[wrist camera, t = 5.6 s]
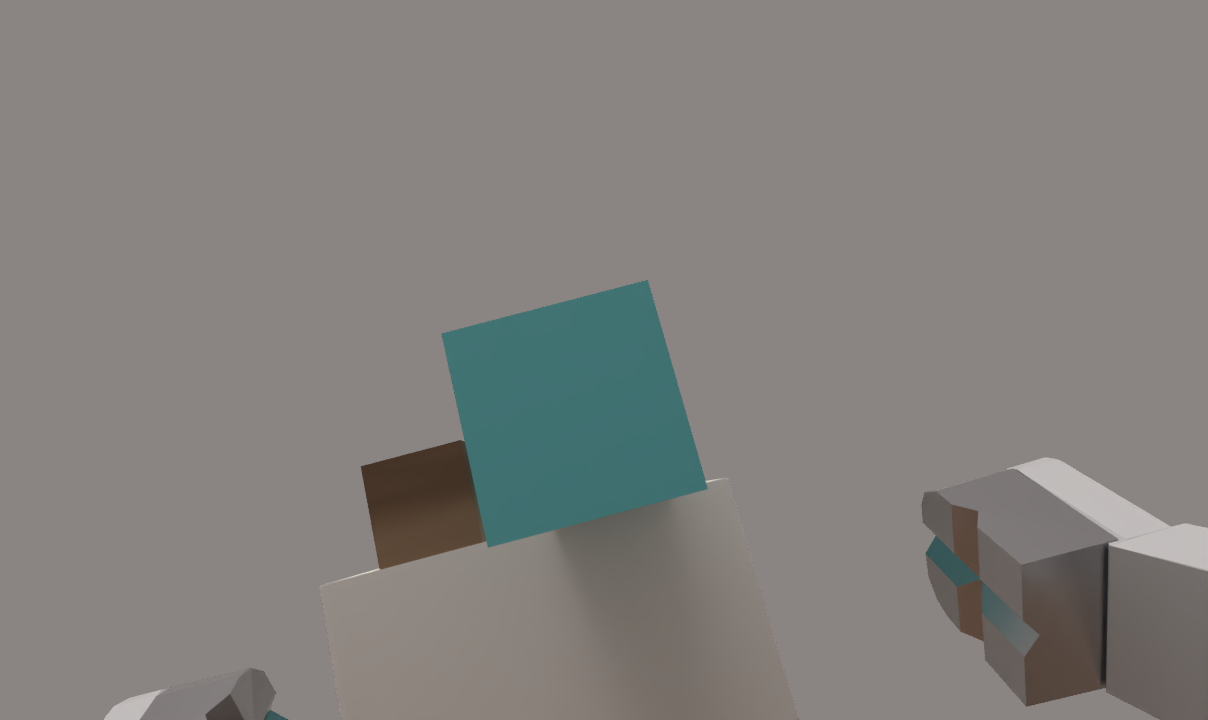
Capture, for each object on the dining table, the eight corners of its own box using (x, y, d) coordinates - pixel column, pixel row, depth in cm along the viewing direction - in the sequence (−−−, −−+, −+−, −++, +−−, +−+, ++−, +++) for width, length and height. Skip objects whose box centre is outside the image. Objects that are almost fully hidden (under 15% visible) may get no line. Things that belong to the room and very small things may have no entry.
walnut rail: (482, 542, 19) (460, 440, 20) (379, 570, 19) (360, 466, 20) (537, 524, 31) (522, 461, 31) (473, 541, 31) (460, 477, 31)
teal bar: (707, 488, 10) (647, 279, 11) (487, 547, 10) (441, 333, 11) (651, 494, 34) (633, 427, 35) (584, 512, 34) (567, 444, 34)
